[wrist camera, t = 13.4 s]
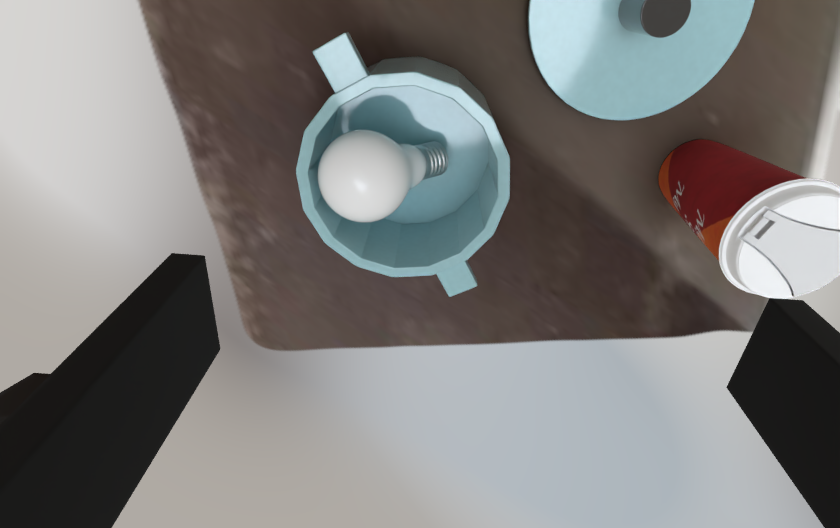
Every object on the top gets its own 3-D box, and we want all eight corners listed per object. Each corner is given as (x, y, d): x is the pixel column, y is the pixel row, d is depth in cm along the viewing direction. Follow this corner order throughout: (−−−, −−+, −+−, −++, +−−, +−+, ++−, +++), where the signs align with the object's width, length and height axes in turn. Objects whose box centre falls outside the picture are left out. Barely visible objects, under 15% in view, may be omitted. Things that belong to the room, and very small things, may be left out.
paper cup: (625, 191, 42) (701, 273, 30) (688, 107, 39) (803, 162, 26) (698, 231, 44) (799, 325, 31) (765, 154, 40) (908, 226, 28)
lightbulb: (438, 97, 38) (316, 115, 31) (485, 162, 37) (368, 195, 30) (403, 152, 43) (290, 178, 36) (444, 211, 42) (334, 250, 35)
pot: (435, -18, 35) (433, -20, 28) (534, 214, 43) (554, 260, 36) (270, 77, 39) (229, 98, 31) (390, 276, 47) (381, 329, 39)
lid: (724, -180, 31) (778, -213, 26) (766, 59, 37) (816, 70, 32) (493, -47, 34) (501, -54, 29) (566, 149, 41) (584, 171, 36)
